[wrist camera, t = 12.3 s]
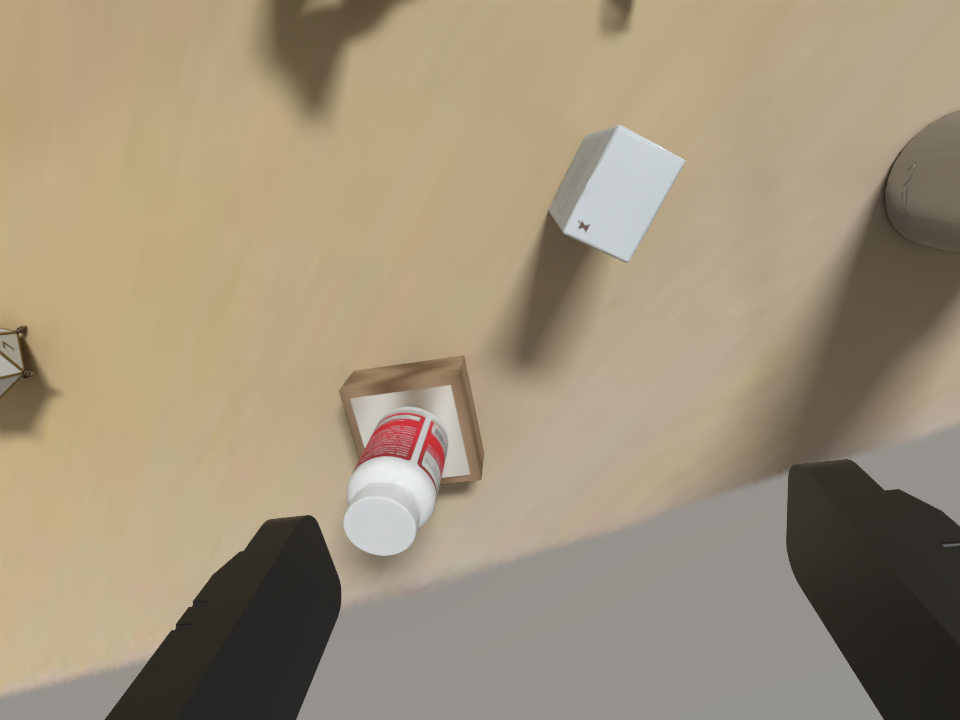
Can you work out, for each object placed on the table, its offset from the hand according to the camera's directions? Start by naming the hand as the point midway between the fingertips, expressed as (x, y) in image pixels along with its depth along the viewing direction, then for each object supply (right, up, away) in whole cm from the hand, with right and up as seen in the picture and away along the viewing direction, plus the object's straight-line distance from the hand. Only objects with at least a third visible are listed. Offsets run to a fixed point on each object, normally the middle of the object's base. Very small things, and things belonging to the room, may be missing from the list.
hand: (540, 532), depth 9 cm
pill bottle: (-7, -3, +34) cm, 34 cm away
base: (-6, -2, +37) cm, 38 cm away
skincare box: (+7, +16, +29) cm, 34 cm away
